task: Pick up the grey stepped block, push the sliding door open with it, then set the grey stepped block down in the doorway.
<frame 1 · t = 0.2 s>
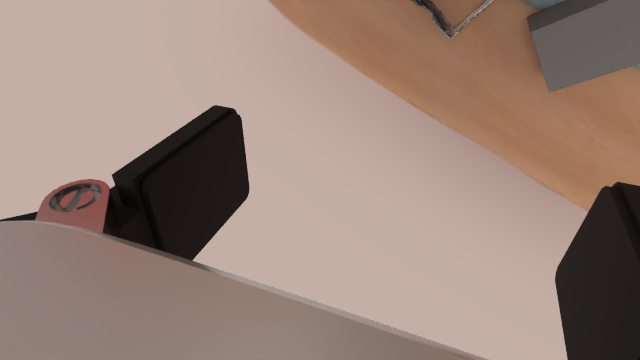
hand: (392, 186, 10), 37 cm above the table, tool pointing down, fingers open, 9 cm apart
grey stepped block: (587, 24, 36), on the table
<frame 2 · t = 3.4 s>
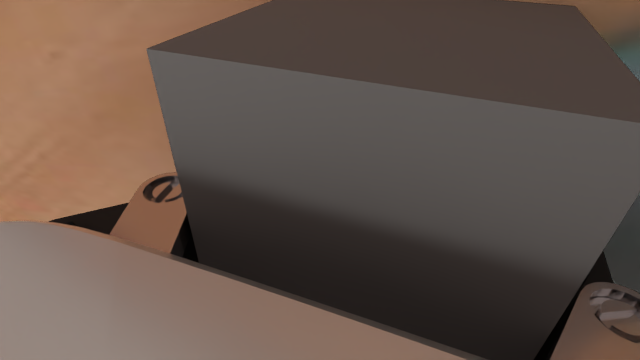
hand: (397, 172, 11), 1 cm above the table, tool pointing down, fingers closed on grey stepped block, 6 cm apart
grey stepped block: (403, 157, 11), on the table, touching gripper
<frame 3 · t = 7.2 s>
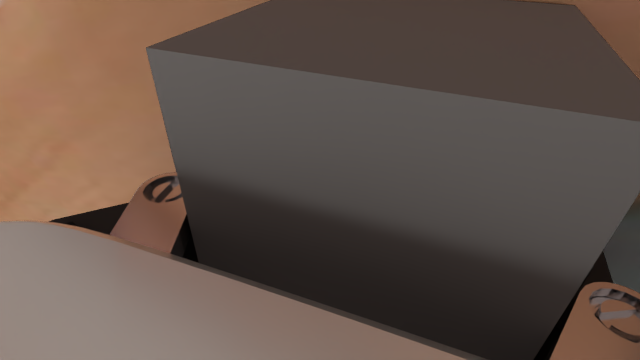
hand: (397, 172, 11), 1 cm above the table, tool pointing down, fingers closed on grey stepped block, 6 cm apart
grey stepped block: (403, 157, 11), on the table, touching gripper
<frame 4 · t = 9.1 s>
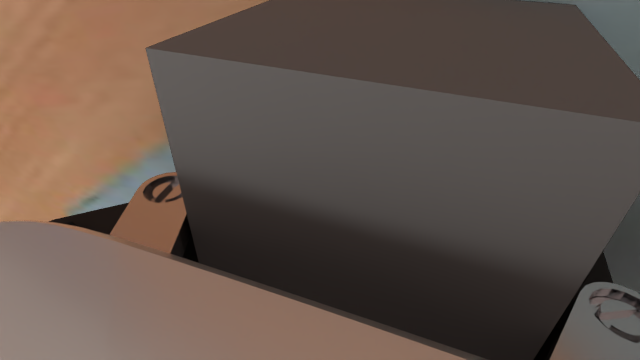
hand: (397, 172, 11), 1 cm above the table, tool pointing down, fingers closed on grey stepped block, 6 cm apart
grey stepped block: (403, 157, 11), on the table, touching gripper, sliding door
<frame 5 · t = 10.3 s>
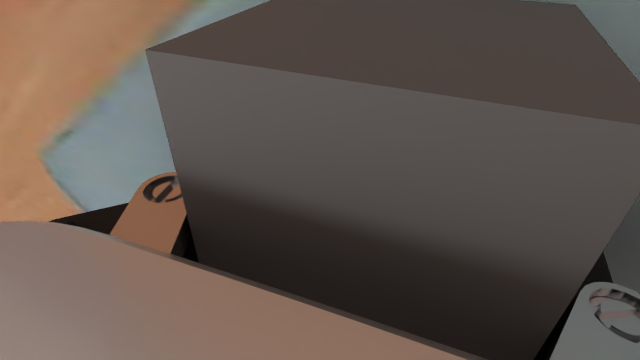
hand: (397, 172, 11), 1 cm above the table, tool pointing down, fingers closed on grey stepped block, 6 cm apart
grey stepped block: (403, 157, 11), on the table, touching gripper, sliding door
when the fingers open (1 cm above the table, at t = 11.3 s): grey stepped block stays where it is, on the table.
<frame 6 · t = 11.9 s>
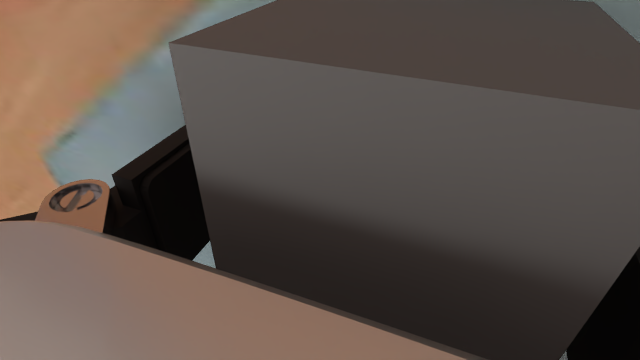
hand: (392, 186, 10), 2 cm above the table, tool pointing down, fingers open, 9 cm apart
grey stepped block: (415, 156, 11), on the table
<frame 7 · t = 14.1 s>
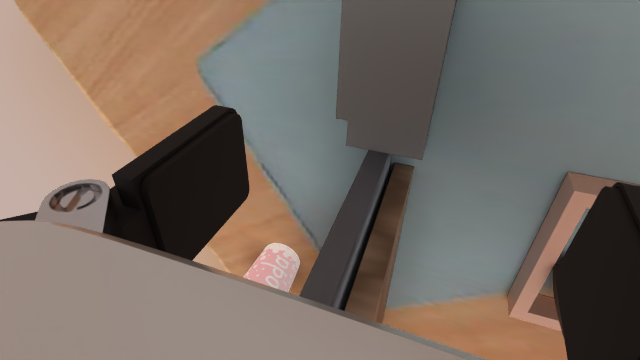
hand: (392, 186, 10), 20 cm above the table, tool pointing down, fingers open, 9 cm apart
beverage cup: (282, 256, 45), on the table
sliding door: (348, 284, 29), point 9 cm above the table, slide at 9.8 cm
grey stepped block: (404, 31, 27), on the table
door wall: (402, 12, 26), on the table
square frame: (630, 264, 30), on the table
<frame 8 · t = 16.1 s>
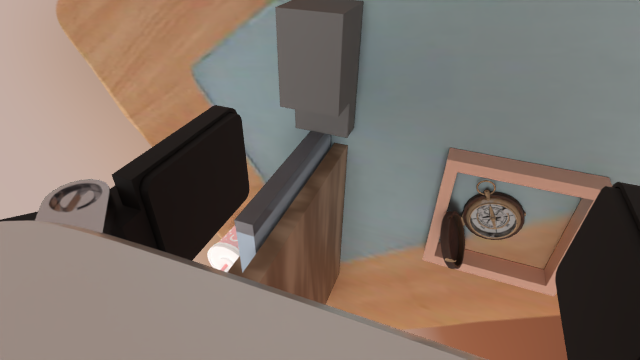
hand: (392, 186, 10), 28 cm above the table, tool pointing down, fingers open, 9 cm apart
beverage cup: (260, 220, 57), on the table
sliding door: (293, 226, 41), point 9 cm above the table, slide at 9.6 cm
grey stepped block: (331, 47, 38), on the table
door wall: (327, 35, 38), on the table
square frame: (503, 217, 42), on the table
compass: (483, 205, 42), resting in square frame
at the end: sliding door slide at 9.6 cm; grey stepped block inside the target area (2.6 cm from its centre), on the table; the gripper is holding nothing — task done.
